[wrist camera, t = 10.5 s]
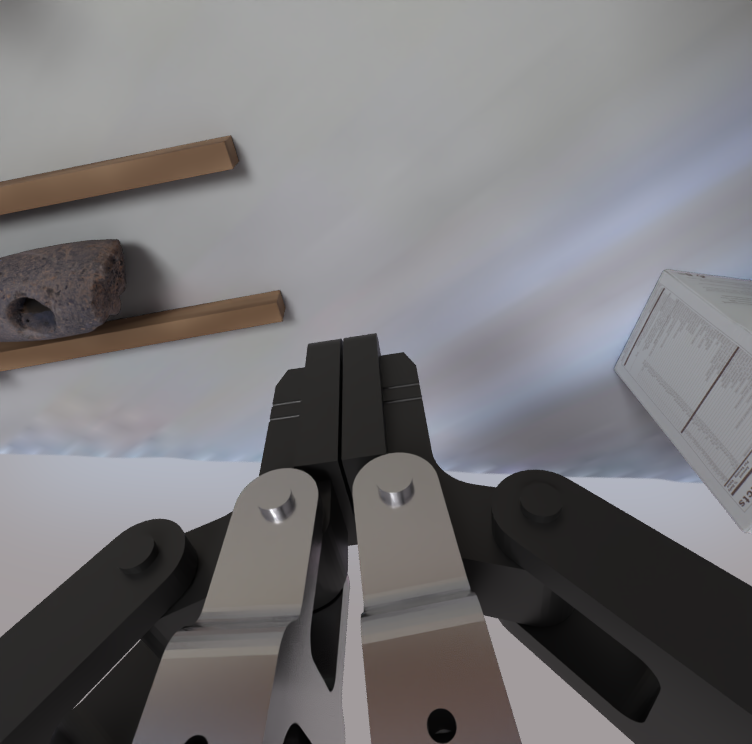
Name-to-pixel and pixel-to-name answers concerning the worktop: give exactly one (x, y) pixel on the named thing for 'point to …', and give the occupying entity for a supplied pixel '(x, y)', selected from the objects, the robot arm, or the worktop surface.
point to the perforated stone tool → (60, 290)
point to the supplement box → (699, 378)
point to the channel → (149, 326)
